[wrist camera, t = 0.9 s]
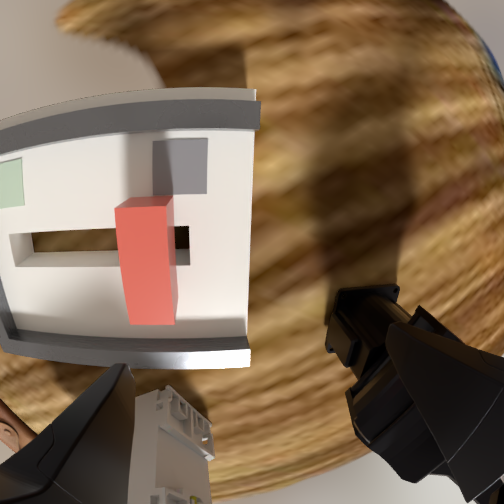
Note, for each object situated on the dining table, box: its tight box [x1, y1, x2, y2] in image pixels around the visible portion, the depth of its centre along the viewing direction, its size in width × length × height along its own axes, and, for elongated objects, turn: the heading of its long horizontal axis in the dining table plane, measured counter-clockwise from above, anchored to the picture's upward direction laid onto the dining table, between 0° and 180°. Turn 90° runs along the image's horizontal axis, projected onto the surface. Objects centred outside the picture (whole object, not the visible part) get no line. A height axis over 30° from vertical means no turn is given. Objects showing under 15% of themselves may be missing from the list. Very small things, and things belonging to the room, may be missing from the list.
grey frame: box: [0, 99, 261, 369], centre depth 14 cm, size 20×16×2 cm
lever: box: [114, 196, 178, 325], centre depth 15 cm, size 2×6×6 cm, turn 177°
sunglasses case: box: [0, 399, 37, 453], centre depth 22 cm, size 18×7×7 cm
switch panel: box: [0, 87, 256, 338], centre depth 16 cm, size 20×18×3 cm
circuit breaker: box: [128, 385, 215, 504], centre depth 18 cm, size 8×14×15 cm, turn 116°
